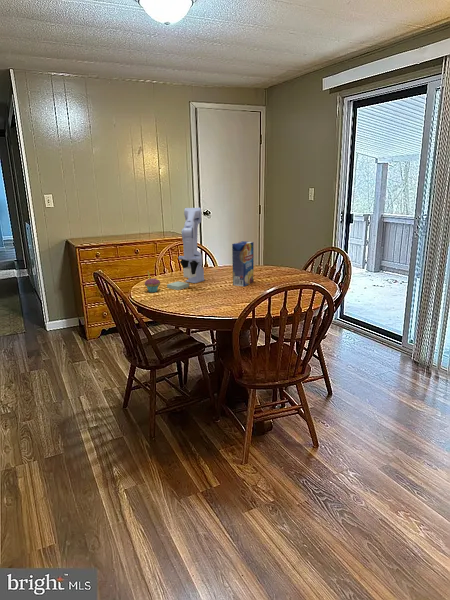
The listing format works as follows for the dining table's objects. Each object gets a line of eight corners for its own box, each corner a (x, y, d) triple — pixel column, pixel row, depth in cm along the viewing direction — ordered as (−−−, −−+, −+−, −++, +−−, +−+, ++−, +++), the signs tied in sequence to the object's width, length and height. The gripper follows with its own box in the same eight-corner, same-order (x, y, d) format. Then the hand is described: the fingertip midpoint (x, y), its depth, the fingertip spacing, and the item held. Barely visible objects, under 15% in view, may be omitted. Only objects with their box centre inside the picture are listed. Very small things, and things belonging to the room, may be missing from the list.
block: (189, 275, 232) (189, 266, 231) (196, 276, 229) (195, 267, 228) (183, 276, 228) (183, 268, 227) (190, 278, 225) (189, 269, 224)
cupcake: (145, 293, 222) (144, 272, 219) (144, 289, 230) (142, 269, 227) (161, 292, 224) (160, 271, 221) (159, 288, 232) (158, 268, 229)
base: (178, 284, 240) (178, 281, 240) (189, 286, 235) (189, 283, 234) (167, 287, 234) (166, 284, 233) (178, 290, 228) (178, 286, 228)
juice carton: (244, 286, 233) (243, 244, 226) (232, 285, 237) (232, 244, 230) (253, 282, 243) (253, 241, 236) (242, 280, 246) (242, 241, 240)
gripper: (174, 249, 226) (175, 273, 230) (193, 251, 217) (194, 276, 221) (182, 247, 231) (184, 270, 235) (202, 249, 222) (203, 273, 226)
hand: (189, 273), depth 228 cm, fingers closed on block, 5 cm apart
